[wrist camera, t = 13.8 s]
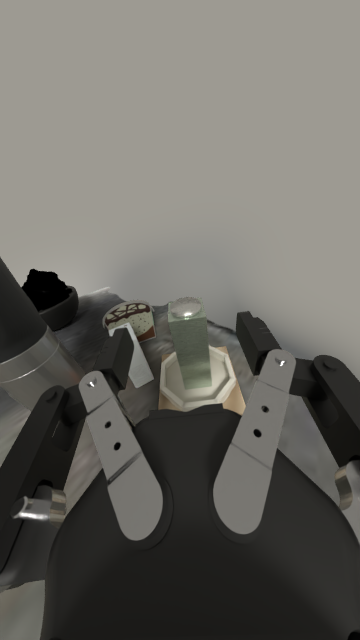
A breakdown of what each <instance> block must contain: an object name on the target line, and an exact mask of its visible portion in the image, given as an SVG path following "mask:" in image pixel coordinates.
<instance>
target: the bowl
mask: <svg viewBox="0 0 360 640" xmlns="http://www.w3.org/2000/svg"><path fill="white" fill-rule="evenodd" d="M209 355H210V367H211V379H212V386H211V387H203V388H195V389H187V390H185V387H184V383H183V379H182V375H181V371H180V367H179V363H178V359H177V355H176V351H175V352H173V353H172V354H171V355H170V356H169V357H168V358H167V359H166V360H164V361H163V362H162V363H161V377H160V390H161V392H162V394H163V395H164V396H165V397H166V398H168V400H169V401H170V402H171V403H172V404H173V405H174V406H175V407H176V408H178V409H180V410H181V411H183V412H187V411H190V410H192V409H195V408H198V407H200V406H203V405H208V404H218V403H222V404H223V403H224V402H225V401H226V400H227V399H228V397H229V395H230V393H231V391H232V389H233V388H234V386H235V385H236V378H235V375H234V372H233V369H232V366H231V363H230V360H229V357H228V354H226V353H224V352H222V351H220V350H218V349H216V348H214V347H212V346H210V345H209Z"/></svg>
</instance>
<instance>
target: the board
mask: <svg viewBox="0 0 360 640" xmlns="http://www.w3.org/2000/svg"><path fill="white" fill-rule="evenodd" d="M216 349H218V350H220V351H222V352H224V353H226V354H228V352H227V349H226V346H225V347H218V348H216ZM170 355H171V354H165V355H162V362H163V361H164V360H166V359H167V358H168V357H169V356H170ZM228 357H229V355H228ZM229 360H230V358H229ZM230 363H231V361H230ZM231 366H232V364H231ZM232 369H233V367H232ZM233 372H234V370H233ZM234 375H235V373H234ZM235 378H236V376H235ZM245 407H246V405H245V402H244V399H243V396H242V393H241V390H240V388H239V385H238V382H237V379H236V385H235V386H234V388H233V389H232V391H231V393H230V395H229V397H228V399H227V400H226V401H225V402H224V403H223V408H224V409H229V410H232V411H234V412H236V413H238V414H240V415H243V412H244V410H245ZM160 409H171V410H177V411H181V410H180V409H178V408H176V407H175V406H174V405H173V404H172V403H171V402H170V401H169V400H168V398H166V397H165V396H164V395H163V394H162V392H161V390H160V392H159V406H158V410H160Z"/></svg>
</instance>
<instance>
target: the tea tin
mask: <svg viewBox="0 0 360 640" xmlns="http://www.w3.org/2000/svg"><path fill="white" fill-rule="evenodd" d="M168 324H169V327H170V331H171V335H172V339H173V343H174V347H175V351H176V355H177V359H178V363H179V367H180V371H181V375H182V379H183V383H184V387H185V390H187V389H195V388H203V387H211V386H212V379H211V367H210V355H209V343H208V331H207V319H206V314H205V310H204V307H203V303H202V299H201V298H192V297H186V298H181V299H178V300H176V301H174V302H170V303H169V312H168Z"/></svg>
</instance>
